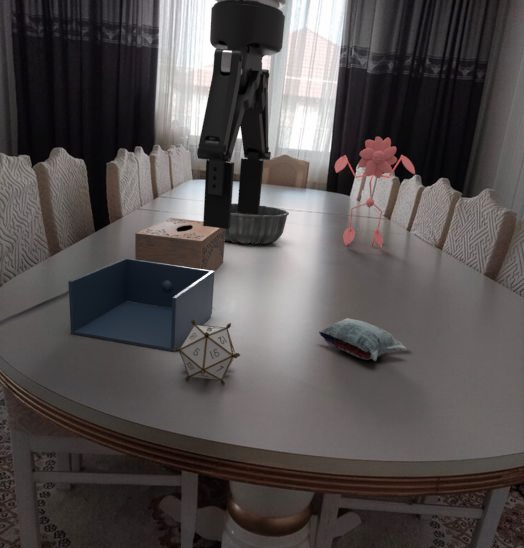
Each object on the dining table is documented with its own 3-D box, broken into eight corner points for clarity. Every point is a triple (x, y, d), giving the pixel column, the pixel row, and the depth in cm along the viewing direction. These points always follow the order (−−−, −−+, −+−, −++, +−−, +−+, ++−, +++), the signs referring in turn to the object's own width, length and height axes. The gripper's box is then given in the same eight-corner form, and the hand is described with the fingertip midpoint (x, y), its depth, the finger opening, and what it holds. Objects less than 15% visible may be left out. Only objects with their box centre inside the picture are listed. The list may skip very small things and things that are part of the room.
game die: (191, 401, 72) (159, 336, 72) (244, 374, 75) (214, 312, 75) (201, 399, 64) (165, 326, 63) (260, 369, 66) (226, 299, 66)
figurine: (322, 241, 180) (337, 132, 167) (394, 247, 183) (414, 140, 170) (330, 250, 166) (347, 132, 153) (408, 256, 169) (431, 141, 155)
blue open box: (174, 352, 78) (176, 298, 75) (70, 333, 81) (68, 280, 78) (228, 300, 105) (231, 259, 102) (149, 287, 108) (150, 247, 105)
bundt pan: (198, 243, 157) (200, 209, 153) (210, 229, 181) (211, 200, 177) (285, 252, 157) (289, 218, 153) (285, 237, 181) (288, 207, 177)
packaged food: (350, 336, 92) (354, 309, 90) (405, 360, 84) (411, 331, 82) (315, 345, 87) (319, 317, 85) (370, 371, 79) (375, 341, 77)
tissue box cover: (169, 256, 137) (170, 217, 133) (223, 262, 136) (225, 224, 132) (135, 279, 113) (135, 233, 110) (199, 287, 112) (201, 241, 108)
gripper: (256, -32, 41) (236, 240, 49) (303, 34, 63) (284, 211, 71) (166, -36, 42) (161, 229, 50) (244, 30, 65) (232, 205, 73)
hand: (233, 219), depth 61 cm, fingers open, 13 cm apart
